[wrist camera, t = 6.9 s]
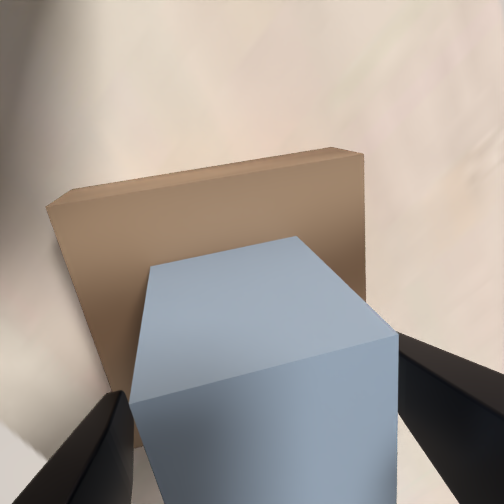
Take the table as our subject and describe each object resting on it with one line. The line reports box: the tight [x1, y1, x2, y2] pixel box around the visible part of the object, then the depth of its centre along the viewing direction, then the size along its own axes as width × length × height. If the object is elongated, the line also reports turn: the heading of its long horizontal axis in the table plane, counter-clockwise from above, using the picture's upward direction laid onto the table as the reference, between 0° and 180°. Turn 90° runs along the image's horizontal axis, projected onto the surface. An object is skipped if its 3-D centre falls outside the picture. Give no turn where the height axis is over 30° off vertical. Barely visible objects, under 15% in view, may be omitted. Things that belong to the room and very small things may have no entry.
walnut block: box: [46, 147, 366, 448], centre depth 13 cm, size 9×9×3 cm
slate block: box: [129, 236, 399, 504], centre depth 9 cm, size 4×4×6 cm
